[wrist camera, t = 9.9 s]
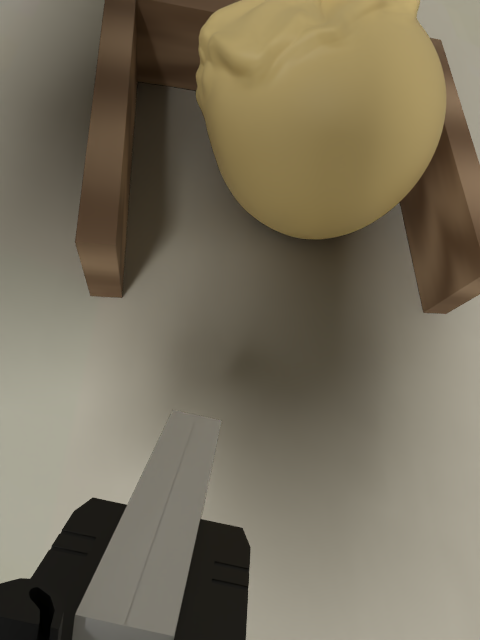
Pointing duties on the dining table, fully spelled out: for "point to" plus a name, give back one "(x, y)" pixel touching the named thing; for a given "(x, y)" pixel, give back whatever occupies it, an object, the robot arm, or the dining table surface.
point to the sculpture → (320, 108)
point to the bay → (180, 71)
